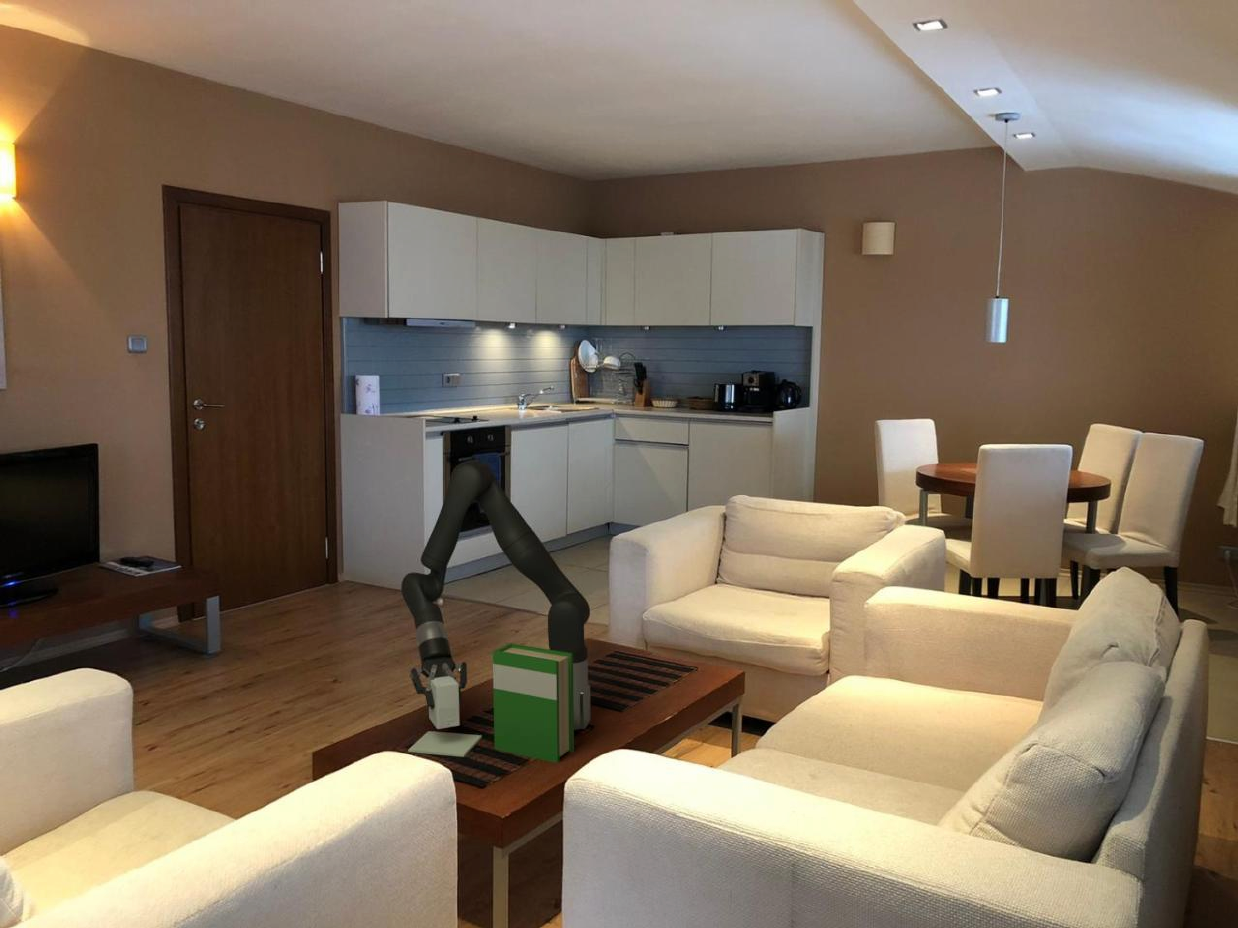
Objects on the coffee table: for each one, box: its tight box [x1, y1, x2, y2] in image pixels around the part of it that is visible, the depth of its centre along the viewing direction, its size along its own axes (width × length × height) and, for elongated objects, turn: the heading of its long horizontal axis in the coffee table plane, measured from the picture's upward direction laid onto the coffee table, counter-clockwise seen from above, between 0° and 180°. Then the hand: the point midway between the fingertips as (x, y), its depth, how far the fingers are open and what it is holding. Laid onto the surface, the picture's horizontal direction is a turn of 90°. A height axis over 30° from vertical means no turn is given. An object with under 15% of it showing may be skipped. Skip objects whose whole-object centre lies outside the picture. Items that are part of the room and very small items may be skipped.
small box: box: [427, 676, 461, 730], centre depth 242 cm, size 8×6×10 cm
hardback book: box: [492, 643, 575, 764], centre depth 238 cm, size 18×7×24 cm, turn 62°
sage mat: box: [407, 730, 483, 758], centre depth 243 cm, size 14×12×1 cm
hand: (445, 705), depth 240 cm, fingers closed on small box, 5 cm apart
